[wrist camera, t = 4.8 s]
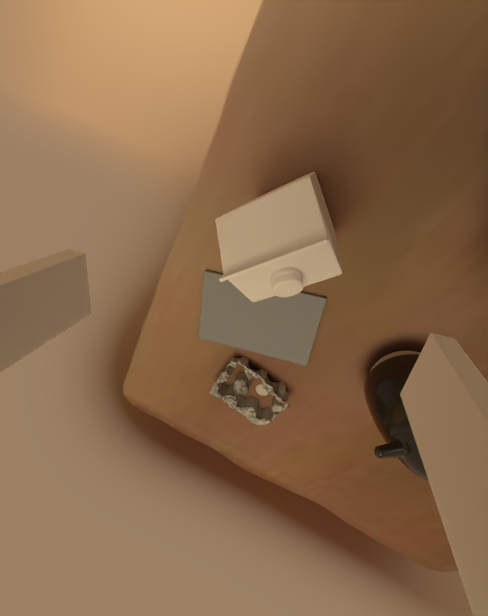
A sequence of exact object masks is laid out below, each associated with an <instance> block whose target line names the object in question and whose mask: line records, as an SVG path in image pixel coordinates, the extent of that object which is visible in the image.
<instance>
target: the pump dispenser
mask: <svg viewBox="0 0 488 616" xmlns="http://www.w3.org/2000/svg"><path fill="white" fill-rule="evenodd" d="M419 355H420V352H416V351H397V352H393V353H390V354H388V355H386V356H384V357H382V358H381V359H380V360H378V361H377V362H376V363H375V365H374V366H373V367H372V369H371V371H370V373H369V374H368V376H367V378H366V381H365V385H364V393H365V398H366V402H367V405H368V408H369V411H370V413H371V416H372V418H373V420H374V422H375V424H376V426H377V428H378V430H379V432H380V433H381V435H382V437H383V438H384V440H385V441H386V443H387V444H384V445H380V446H376V447H375V449H374V452H375V455H376V457H377V458H380V459H381V458H395V457H398V458H399V460H400V461H401V462H402V463H403V464H404V465H405V466H406V467H407V468H408V469H410V470H411V471H412V472H413V473H415V474H416V475H418V476H419V477H421V478H423V479H425V480H428V477H427V474H426V471H425V468H424V465H423V462H422V459H421V456H420V453H419V450H418V447H417V444H416V441H415V438H414V435H413V432H412V429H411V426H410V423H409V420H408V417H407V414H406V411H405V408H404V405H403V402H402V399H401V396H400V393H401V391H402V389H403V387H404V385H405V383H406V381H407V379H408V377H409V375H410V373H411V371H412V369H413V367H414V365H415V363H416V361H417V359H418V357H419ZM428 481H429V480H428Z"/></svg>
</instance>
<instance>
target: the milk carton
mask: <svg viewBox="0 0 488 616" xmlns="http://www.w3.org/2000/svg"><path fill="white" fill-rule="evenodd" d="M216 227H217V234H218V240H219V247H220V254H221V261H222V267H223V276H222V277H221V278H220V279H219V280H220V282H223V281H225V280H229V281H230V282H231V283H232V284H233V285H234V286H235V287H236V288H237V289H239V290H240V291H241V292H242V293H243V294H244V295H245V296H246V297H247V298H248V299H249V300H251V301H252V302H257V301H260V300H264V299H267V298H270V297H273V296H278V297H290V296H294V295H296V294H298V293H300V292H301V291H302V290H303V287H304V286H307V285H310V284H313V283H317V282H320V281H323V280H326V279H329V278H332V277H335V276H338V275H340V274H342V269H341V263H340V257H339V251H338V245H337V239H336V233H335V230H334V227H333V224H332V221H331V218H330V215H329V212H328V209H327V206H326V202H325V199H324V196H323V193H322V190H321V187H320V184H319V181H318V178H317V175H316V172H315V171H314V172H311V173H309V174H307V175H304V176H302V177H300V178H298V179H296V180H294V181H291V182H289V183H287V184H285V185H283V186H281V187H278V188H276V189H274V190H272V191H270V192H268V193H265V194H263V195H261V196H259V197H257V198H255V199H253V200H251V201H249V202H247V203H245V204H243V205H241V206H239V207H238V208H236V209H234V210H232V211H230V212H228V213H226V214H224V215H222V216H220V217H218V218H217V219H216Z"/></svg>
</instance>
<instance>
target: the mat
mask: <svg viewBox="0 0 488 616" xmlns="http://www.w3.org/2000/svg"><path fill="white" fill-rule="evenodd" d="M222 276H223V273H218V272H214V271H209V270H206V271H205V274H204V285H203V296H202V307H201V318H200V328H199V338H201V339H205V340H209V341H213V342H217V343H220V344H224V345H228V346H232V347H236V348H240V349H244V350H247V351H251V352H255V353H259V354H263V355H267V356H270V357H274V358H278V359H282V360H286V361H290V362H293V363H297V364H301V365H305V366H307V362H308V359H309V356H310V352H311V349H312V346H313V342H314V339H315V336H316V332H317V329H318V326H319V322H320V319H321V316H322V312H323V309H324V306H325V302H326V299H327V297H324V296H320V295H315V294H311V293H307V292H302V291H301V292H300V293H298V294H296V295H294V296H290V297H278V296H273V297H270V298H267V299H264V300H260V301H257V302H252V301H251V300H249V299H248V298H247V297H246V296H245V295H244V294H243V293H242V292H241V291H240V290H239V289H237V288H236V287H235V286H234V285H233V284H232V283H231V282H230V281H229V280H225V281H223V282H220V280H219V279H220V278H221V277H222Z"/></svg>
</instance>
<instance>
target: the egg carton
mask: <svg viewBox="0 0 488 616" xmlns="http://www.w3.org/2000/svg"><path fill="white" fill-rule="evenodd" d="M248 361H249V360H248V359H247V358H245V357H242V358H234V357H232V359H231V360H230V362H229V364H228V366H227V367H226V369H225V371H222V372H221V373H220V375H219V377H218V379H217V381H216V383H214V385H213V387H212V389H211V391H210V394H211V395H214V396H216V397H218V398H221V399H223V400H224V402H225V403H226V402H227V403H228V404H229V407H230V408H233V409H235V410H237V411H238V412H239V413H241V414H243V415H244V416H245V417H247V418H248V419H249V420H250V421H251V422H252V423H254V424H255V425H266V424H268V423H269V422H271V421H272V419H273V418H274V417H276V416H277V415H278V413H279V412H280V411H281V410H282V409H283V410H285V409H286V408H288V407H289V406H290V404H289V405H288V404H287V399H288V392H287V391H286V384H285V383H283V382H282V381H280V382H271V381H270V380H269V379H268V378H267V373H268V372H266V371H264V370H262V369H261V370H253V369H251V368H250V367H249V365H248ZM238 365H241V366H243V367H244V368H245V369H244V370H245V372H240V373H239V374H238V375H237V377H236V380H235V382H234V385H230V386H228V387H227V386H225V385H223V384H222V383H223V382H224V381H228V380H229V377H230V375H231V373H232V371H233V367H238ZM254 378H261V380H262V384H258V385H257V386H256V392H257V393H258V394H259V395H261V396H266V395H268V394H271V395H274V397H275V398H274V400H273V404H272V409H271V408H265V409H263V410H262V409H261V408H259V407H258V405H259V402H258V400H257V399H256V398H254V397H247V398H244V397H242V396H241V394H242V395H243V394H246V393H248V390H249V387H250V384H251V380H252V379H254Z"/></svg>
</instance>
